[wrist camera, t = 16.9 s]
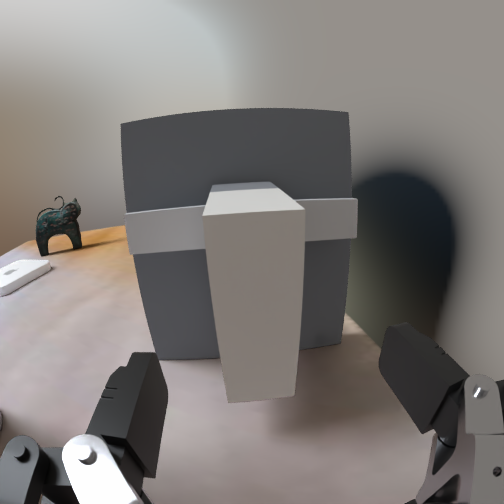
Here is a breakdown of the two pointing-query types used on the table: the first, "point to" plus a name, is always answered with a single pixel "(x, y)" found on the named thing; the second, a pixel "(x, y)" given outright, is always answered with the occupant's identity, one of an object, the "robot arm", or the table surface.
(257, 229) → the white block
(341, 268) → the wall board
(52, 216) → the ceramic cat
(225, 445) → the table surface
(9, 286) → the mac mini
